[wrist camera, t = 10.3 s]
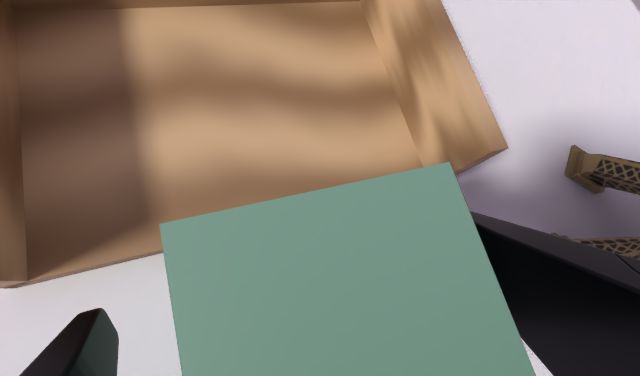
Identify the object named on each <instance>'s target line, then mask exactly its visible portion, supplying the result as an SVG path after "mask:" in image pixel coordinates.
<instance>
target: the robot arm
mask: <svg viewBox="0 0 640 376" xmlns="http://www.w3.org/2000/svg"><path fill="white" fill-rule="evenodd" d="M470 214H471V216H472V219H473V221H474V224H475V226H476V229H477V231H478V234H479V236H480V238H481V241H482V243H483V246H484V248H485V251H486V253H487V256H488V258H489V261H490V263H491V266H492V268H493V271H494V273H495V276H496V278H497V281H498V283H499V286H500V288H501V290H502V293H503V295H504V298H505V300H506V303H507V305H508V308H509V310H510V313H511V315H512V318H513V320H514V323H515V325H516V328H517V330H518V333H519V335H520V337H521V338H522V339H523V341H524V342H525V343H526V344H527V345H528V346H529V348H530V349H531V350H532V351H533V352H534V353H535V355H536V356H537V357H538V358H539V359H540V360H541V362H542V363H543V364H544V365H545V366H546V368H547V369H548V370H549V371H550V372H551V373H552V375H553V376H640V260H638V259H634V258H631V257H628V256H624V255H621V254H617V253H614V254H613V253H612V252H610V251H607V250H603V249H600V248H596V247H593V246H589V245H586V244H582V243H579V242H575V241H572V240H568V239H565V238H561V237H558V236H554V235H551V234H547V233H544V232H540V231H537V230H533V229H530V228H526V227H523V226H520V225H516V224H513V223H509V222H506V221H502V220H499V219H495V218H492V217H488V216H485V215H481V214H478V213H474V212H471V211H470ZM118 346H119V338H118V333H117V331H116V329H115V327H114V325H113V324H112V322H111V320H110V318H109V317H108V315H107V313H106V312H105V310H104V309H102V308H97V309H93V310H90V311H86V312H82V313H80V314H78V315H77V316H76V317H75V318H74V319H73V320H72V321H71V322H70V323H69V324H68V325H67V326H66V327H65V328H64V329H63V330H62V331H61V332H60V333H59V335H58V336H57V337H56V338H55V339H54V340H53V341H52V342H51V343H50V344H49V345H48V346H47V347H46V348H45V349H44V350H43V351H42V352H41V353H40V354H39V355H38V357H37V358H36V359H35V360H34V361H33V362H32V363H31V364H30V365H29V366H28V367H27V368H26V369H25V370H24V371H23V372H22V373H21V374H20V375H19V376H117V363H118Z"/></svg>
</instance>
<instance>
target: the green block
mask: <svg viewBox="0 0 640 376" xmlns="http://www.w3.org/2000/svg"><path fill="white" fill-rule="evenodd" d="M159 226H160V233H161V239H162V246H163V252H164V259H165V265H166V272H167V279H168V285H169V292H170V298H171V305H172V311H173V318H174V325H175V331H176V338H177V344H178V351H179V357H180V364H181V371H182V376H536V375H535V372H534V370H533V367H532V365H531V362H530V360H529V357H528V355H527V352H526V350H525V347H524V345H523V342H522V340H521V338H520V335H519V333H518V330H517V328H516V325H515V323H514V320H513V318H512V315H511V313H510V310H509V308H508V305H507V303H506V300H505V298H504V295H503V293H502V290H501V288H500V286H499V283H498V281H497V278H496V276H495V273H494V271H493V268H492V266H491V263H490V261H489V258H488V256H487V253H486V251H485V248H484V246H483V243H482V241H481V238H480V236H479V234H478V231H477V229H476V226H475V224H474V221H473V219H472V216H471V214H470V211H469V209H468V206H467V204H466V201H465V199H464V196H463V194H462V191H461V189H460V187H459V184H458V182H457V179H456V177H455V174H454V172H453V169H452V167H451V164H450V162H446V163H442V164H437V165H432V166H428V167H423V168H418V169H414V170H409V171H404V172H400V173H395V174H390V175H386V176H381V177H376V178H372V179H367V180H362V181H358V182H353V183H348V184H344V185H339V186H334V187H330V188H325V189H320V190H316V191H311V192H306V193H302V194H297V195H292V196H288V197H283V198H278V199H274V200H269V201H264V202H260V203H255V204H250V205H246V206H241V207H236V208H232V209H227V210H222V211H218V212H213V213H208V214H204V215H199V216H194V217H190V218H185V219H180V220H176V221H171V222H166V223H162V224H159Z"/></svg>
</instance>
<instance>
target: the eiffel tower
mask: <svg viewBox="0 0 640 376" xmlns="http://www.w3.org/2000/svg"><path fill="white" fill-rule="evenodd" d="M565 175H566V176H568V177H570V178H571V179H573V180H574V181H576V182H578V183H579V184H581V185H582V186H584V187H586V188H587V189H589V190H590V191H592V192H593V193H595V194H597V193H601V192H604V189H605V187H610V188H614V189H618V190H622V191H626V192H630V193H635V194H639V195H640V162H635V161H630V160H626V159H621V158H616V157H611V156H607V155H602V154H588V153H586V152H585V151H583V150H582V149H580V148H578V147H577V146H575V145H573V146H571V149H570V154H569V158H568V163H567V167H566V171H565ZM551 235H554V236H558V237H561V238H565V239H568V240H571V239H569V238H568V237H566V236H559V235H557V234H555V233H552V234H551ZM572 241H575V242H579V243H582V244H586V245H589V246H593V247H596V248H600V249H603V250H607V251H610V252H612V253H613V254H614V253H617V254H621V255H624V256H628V257H631V258H634V259H638V260H640V237H627V238H597V239H572Z"/></svg>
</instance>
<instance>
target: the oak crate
mask: <svg viewBox="0 0 640 376" xmlns="http://www.w3.org/2000/svg"><path fill="white" fill-rule="evenodd" d="M507 148H508V145H507V143H506V141H505V139H504V137H503V135H502V132H501V130H500V128H499V126H498V124H497V122H496V119H495V117H494V115H493V113H492V111H491V109H490V106H489V104H488V102H487V100H486V98H485V96H484V93H483V91H482V89H481V87H480V85H479V83H478V80H477V78H476V76H475V74H474V72H473V70H472V67H471V65H470V63H469V61H468V59H467V56H466V54H465V52H464V50H463V48H462V46H461V43H460V41H459V39H458V37H457V35H456V33H455V30H454V28H453V26H452V24H451V22H450V20H449V17H448V15H447V13H446V11H445V9H444V7H443V4H442V2H441V0H0V288H18V287H22V286H27V285H31V284H35V283H39V282H43V281H47V280H51V279H56V278H60V277H64V276H68V275H72V274H76V273H81V272H85V271H89V270H93V269H97V268H101V267H105V266H110V265H114V264H118V263H122V262H126V261H130V260H134V259H139V258H143V257H147V256H151V255H155V254H159V253H163V246H162V239H161V233H160V226H159V224H162V223H166V222H171V221H176V220H180V219H185V218H190V217H194V216H199V215H204V214H208V213H213V212H218V211H222V210H227V209H232V208H236V207H241V206H246V205H250V204H255V203H260V202H264V201H269V200H274V199H278V198H283V197H288V196H292V195H297V194H302V193H306V192H311V191H316V190H320V189H325V188H330V187H334V186H339V185H344V184H348V183H353V182H358V181H362V180H367V179H372V178H376V177H381V176H386V175H390V174H395V173H400V172H404V171H409V170H414V169H418V168H423V167H428V166H432V165H437V164H442V163H446V162H450V164H451V167H452V169H453V172H454V174H455V176H456V175H458V174H460V173H462V172H464V171H466V170H468V169H470V168H472V167H473V166H475V165H477V164H479V163H481V162H483V161H485V160H487V159H489V158H490V157H492V156H494V155H496V154H498V153H500V152H502V151H504V150H506V149H507Z"/></svg>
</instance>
